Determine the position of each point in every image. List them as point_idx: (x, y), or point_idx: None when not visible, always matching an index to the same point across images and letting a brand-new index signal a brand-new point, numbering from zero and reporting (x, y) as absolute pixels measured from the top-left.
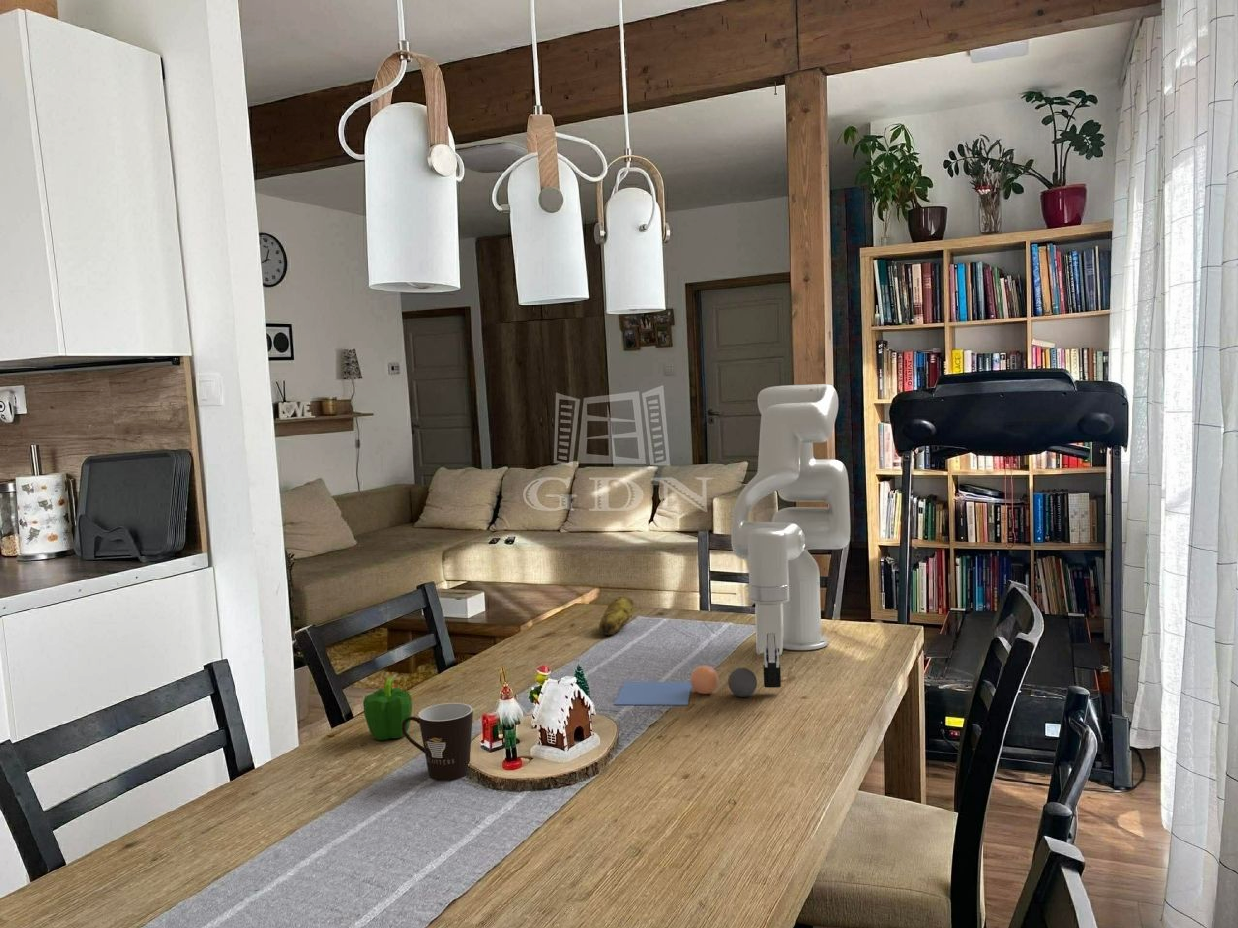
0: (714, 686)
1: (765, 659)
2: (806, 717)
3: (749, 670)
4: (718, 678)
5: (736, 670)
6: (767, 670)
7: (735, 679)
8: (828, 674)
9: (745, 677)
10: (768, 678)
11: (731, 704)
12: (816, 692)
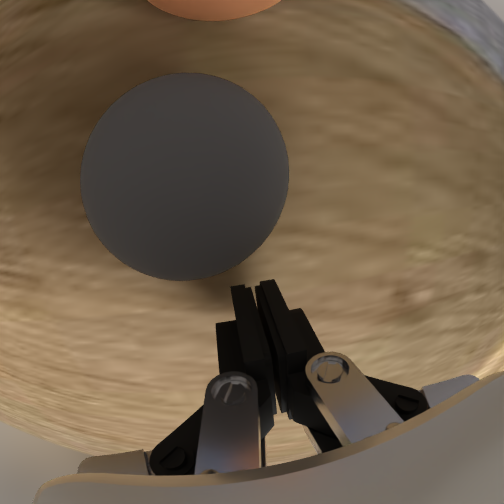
0: (167, 12)
1: (201, 441)
2: (61, 391)
3: (180, 260)
4: (224, 8)
5: (131, 141)
6: (243, 363)
7: (85, 148)
8: (415, 379)
9: (95, 229)
10: (217, 339)
11: (66, 141)
12: (277, 401)
